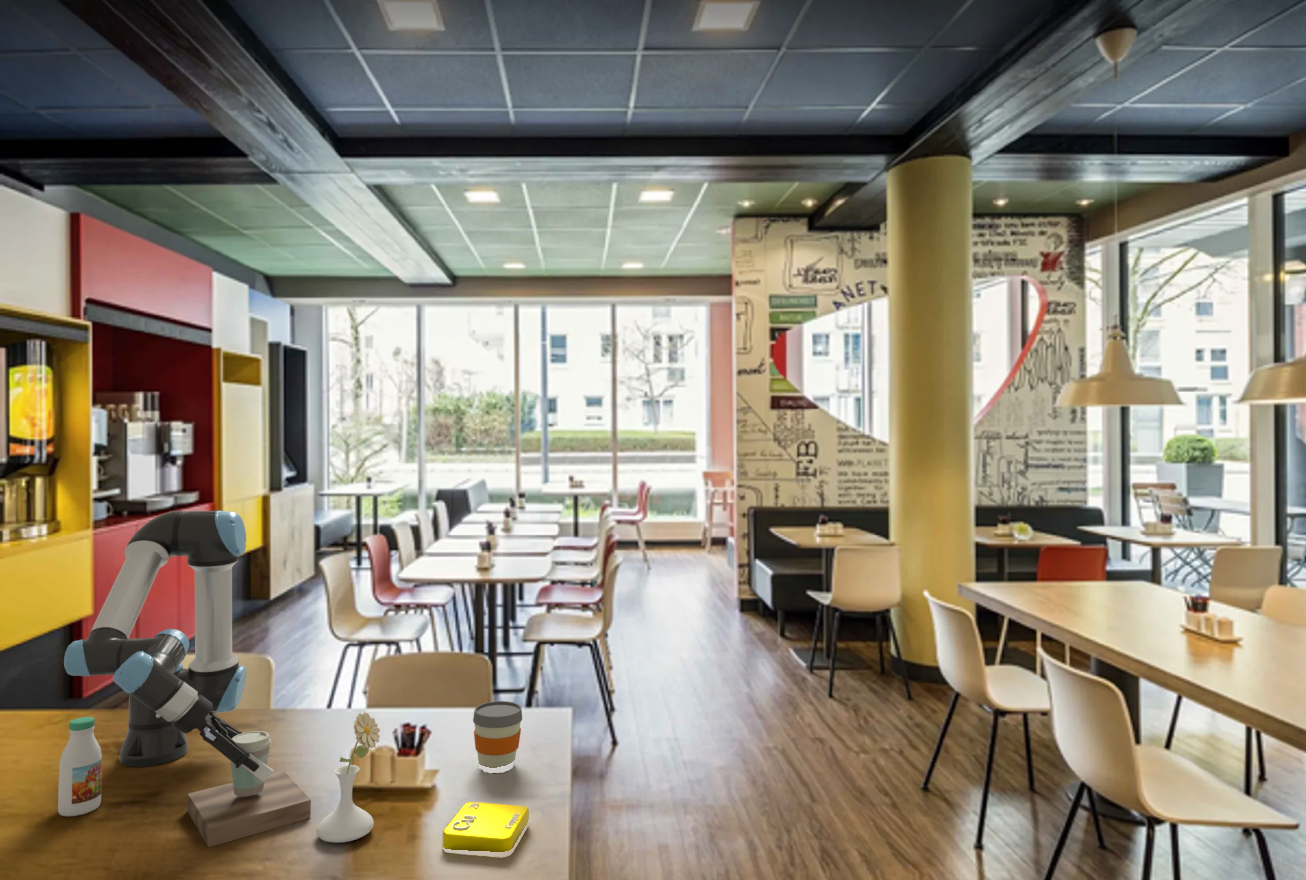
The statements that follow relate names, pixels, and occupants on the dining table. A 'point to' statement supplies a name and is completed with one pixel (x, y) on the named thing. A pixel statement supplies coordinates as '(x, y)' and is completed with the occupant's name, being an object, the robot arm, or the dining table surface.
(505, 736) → the reusable coffee cup
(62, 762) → the milk bottle
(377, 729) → the flower in vase
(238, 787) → the coffee cup
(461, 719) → the dining table surface
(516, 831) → the element tile
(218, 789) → the walnut base
